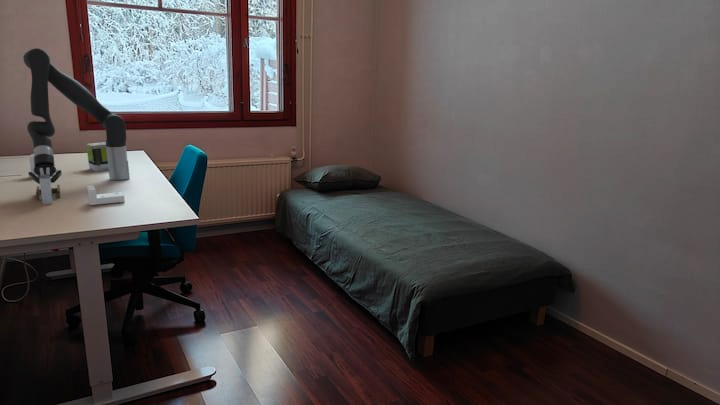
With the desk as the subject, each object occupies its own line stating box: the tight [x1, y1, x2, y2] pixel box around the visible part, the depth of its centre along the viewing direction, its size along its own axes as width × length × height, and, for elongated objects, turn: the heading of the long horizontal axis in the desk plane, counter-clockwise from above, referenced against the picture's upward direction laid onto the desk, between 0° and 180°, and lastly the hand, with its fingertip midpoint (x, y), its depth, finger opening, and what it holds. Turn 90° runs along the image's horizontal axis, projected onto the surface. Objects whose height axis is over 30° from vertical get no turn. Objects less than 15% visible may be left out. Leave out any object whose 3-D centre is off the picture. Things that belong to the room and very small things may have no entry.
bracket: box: [86, 185, 125, 206], centre depth 207 cm, size 13×7×8 cm, turn 123°
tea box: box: [85, 141, 109, 172], centre depth 276 cm, size 15×10×15 cm, turn 135°
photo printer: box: [29, 153, 55, 178], centre depth 253 cm, size 10×4×12 cm, turn 123°
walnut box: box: [35, 184, 61, 201], centre depth 216 cm, size 9×14×4 cm, turn 31°
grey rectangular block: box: [38, 174, 54, 205], centre depth 206 cm, size 4×10×11 cm, turn 31°
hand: (46, 190), depth 211 cm, fingers closed
